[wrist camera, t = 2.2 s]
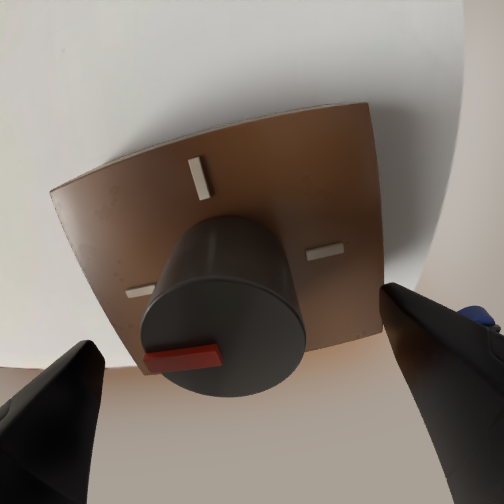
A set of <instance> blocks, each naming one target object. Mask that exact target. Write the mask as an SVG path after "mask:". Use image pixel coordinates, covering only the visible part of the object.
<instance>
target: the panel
mask: <svg viewBox="0 0 504 504" xmlns="http://www.w3.org/2000/svg"><path fill="white" fill-rule="evenodd" d="M50 195H51V198H52V201H53V203H54V206H55V209H56V211H57V214H58V216H59V219H60V221H61V224H62V226H63V229H64V231H65V233H66V236H67V238H68V240H69V243H70V245H71V247H72V249H73V251H74V254H75V256H76V258H77V260H78V262H79V264H80V266H81V268H82V270H83V273H84V275H85V277H86V279H87V281H88V282H89V284H90V286H91V288H92V290H93V292H94V294H95V296H96V298H97V300H98V301H99V303H100V305H101V307H102V309H103V310H104V312H105V314H106V316H107V317H108V319H109V321H110V323H111V324H112V326H113V328H114V329H115V331H116V333H117V334H118V336H119V338H120V339H121V341H122V343H123V344H124V346H125V347H126V349H127V350H128V352H129V354H130V355H131V357H132V358H133V360H134V361H135V363H136V364H137V366H138V367H139V369H140V370H141V372H142V373H143V374H144V375H157V374H161V373H150V372H149V370H148V369H147V367H146V366H145V364H144V362H143V361H142V359H143V356H144V354H145V352H144V349H143V347H142V343H141V338H140V324H141V319H142V316H143V313H144V311H145V308H146V306H147V304H148V302H149V299H150V297H151V295H152V293H153V290H154V288H155V286H156V284H157V281H158V279H159V277H160V275H161V273H162V271H163V268H164V266H165V264H166V262H167V260H168V258H169V256H170V254H171V252H172V250H173V247H174V245H175V244H176V242H177V241H178V239H179V238H180V237H181V236H182V235H183V234H184V233H185V232H186V231H187V230H188V229H189V228H191V227H192V226H194V225H196V224H198V223H200V222H202V221H204V220H208V219H211V218H216V217H238V218H243V219H247V220H250V221H253V222H255V223H257V224H259V225H261V226H262V227H264V228H265V229H267V230H268V231H269V232H271V233H272V234H273V235H274V236H275V237H276V239H277V240H278V241H279V242H280V244H281V245H282V247H283V249H284V251H285V253H286V256H287V260H288V264H289V267H290V271H291V275H292V279H293V283H294V287H295V290H296V294H297V298H298V302H299V306H300V310H301V314H302V318H303V322H304V326H305V330H306V348H305V351H304V352H308V351H313V350H317V349H321V348H326V347H330V346H334V345H337V344H342V343H345V342H349V341H353V340H357V339H361V338H364V337H368V336H371V335H375V334H378V333H381V332H382V329H383V322H382V319H381V316H380V312H379V289H380V287H381V285H384V246H383V223H382V208H381V195H380V184H379V174H378V166H377V157H376V150H375V143H374V136H373V129H372V123H371V117H370V112H369V106H368V103H367V102H358V103H339V104H326V105H319V106H313V107H307V108H301V109H295V110H289V111H284V112H279V113H274V114H269V115H264V116H259V117H255V118H250V119H246V120H242V121H238V122H234V123H230V124H226V125H222V126H218V127H214V128H210V129H207V130H203V131H200V132H196V133H193V134H189V135H186V136H183V137H180V138H176V139H173V140H170V141H167V142H164V143H161V144H158V145H155V146H152V147H149V148H146V149H143V150H140V151H138V152H135V153H132V154H130V155H127V156H124V157H122V158H119V159H116V160H114V161H111V162H109V163H106V164H104V165H101V166H99V167H97V168H95V169H93V170H91V171H88V172H86V173H84V174H82V175H80V176H78V177H76V178H74V179H72V180H70V181H68V182H66V183H64V184H62V185H60V186H58V187H56V188H55V189H53V190H51V191H50Z"/></svg>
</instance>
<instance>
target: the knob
mask: <svg viewBox="0 0 504 504" xmlns="http://www.w3.org/2000/svg"><path fill="white" fill-rule="evenodd" d="M140 338H141V343H142V347H143V349H144V352H145V354H144V356H143V359H142V361H143V362H144V364H145V366H146V367H147V369H148V370H149V372H150V373H161V374H162V375H163V376H164V377H166V378H167V379H169V380H170V381H171V382H173V383H175V384H177V385H178V386H180V387H182V388H185V389H187V390H190V391H193V392H196V393H199V394H203V395H208V396H214V397H242V396H248V395H253V394H256V393H260V392H263V391H265V390H268V389H270V388H272V387H274V386H276V385H278V384H279V383H281V382H282V381H284V380H285V379H286V378H287V377H288V376H289V375H291V374H292V372H293V371H294V370H295V369H296V368H297V366H298V365H299V363H300V361H301V359H302V357H303V355H304V351H305V348H306V330H305V326H304V322H303V318H302V314H301V310H300V306H299V302H298V298H297V294H296V290H295V287H294V283H293V279H292V275H291V271H290V267H289V264H288V260H287V256H286V253H285V251H284V249H283V247H282V245H281V244H280V242H279V241H278V240H277V239H276V237H275V236H274V235H273V234H272V233H271V232H269V231H268V230H267V229H265V228H264V227H262V226H261V225H259V224H257V223H255V222H253V221H250V220H247V219H243V218H238V217H216V218H211V219H208V220H204V221H202V222H200V223H198V224H196V225H194V226H192V227H191V228H189V229H188V230H187V231H186V232H185V233H184V234H183V235H182V236H181V237H180V238H179V239H178V241H177V242H176V244H175V245H174V247H173V250H172V252H171V254H170V256H169V258H168V260H167V262H166V264H165V266H164V268H163V271H162V273H161V275H160V277H159V279H158V281H157V284H156V286H155V288H154V290H153V293H152V295H151V297H150V299H149V302H148V304H147V306H146V308H145V311H144V313H143V316H142V319H141V324H140Z"/></svg>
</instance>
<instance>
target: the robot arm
mask: <svg viewBox="0 0 504 504" xmlns="http://www.w3.org/2000/svg"><path fill="white" fill-rule="evenodd" d="M379 312H380V316H381V319H382V322H383V325H384V327H385V330H386V333H387V336H388V338H389V341H390V344H391V347H392V350H393V353H394V355H395V358H396V361H397V363H398V365H399V367H400V369H401V371H402V374H403V376H404V378H405V380H406V382H407V384H408V386H409V389H410V391H411V393H412V395H413V397H414V400H415V402H416V404H417V406H418V409H419V411H420V413H421V416H422V418H423V420H424V423H425V425H426V428H427V430H428V432H429V435H430V437H431V440H432V442H433V445H434V447H435V450H436V453H437V455H438V458H439V460H440V463H441V466H442V468H443V471H444V474H445V477H446V478H447V483H448V486H449V489H450V492H451V495H452V498H453V501H454V504H504V335H502V334H500V333H499V332H500V330H501V327H500V326H499V325H495V324H480V323H478V322H476V321H474V320H472V319H470V318H468V317H466V316H463V315H461V314H459V313H457V312H455V311H453V310H451V309H449V308H447V307H445V306H443V305H441V304H439V303H436V302H435V301H433V300H430V299H428V298H426V297H424V296H422V295H420V294H418V293H416V292H414V291H411V290H409V289H407V288H405V287H403V286H401V285H399V284H396V283H394V282H392V283H388V284H384V285H381V287H380V289H379ZM104 369H105V359H104V357H103V355H102V354H101V353H100V351H99V350H98V348H97V347H96V345H95V344H94V342H93V341H91V340H83V341H80V342H79V343H77V344H76V345H75V346H74V347H72V348H71V349H70V350H69V351H67V352H66V353H65V354H64V355H62V356H61V357H60V358H59V359H57V360H56V361H55V362H54V363H53V364H51V365H50V366H49V367H48V368H46V369H45V370H44V371H43V372H42V373H40V374H39V375H38V376H37V377H36V378H34V379H33V380H32V381H31V382H30V383H28V384H27V385H26V386H25V387H24V388H23V389H21V390H20V391H19V392H18V393H17V394H15V395H14V396H13V397H12V398H11V399H9V400H8V401H7V402H6V403H5V404H4V405H2V406H1V407H0V504H87V492H88V482H89V473H90V465H91V457H92V450H93V443H94V437H95V430H96V425H97V419H98V413H99V409H100V403H101V395H102V385H103V377H104Z"/></svg>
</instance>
